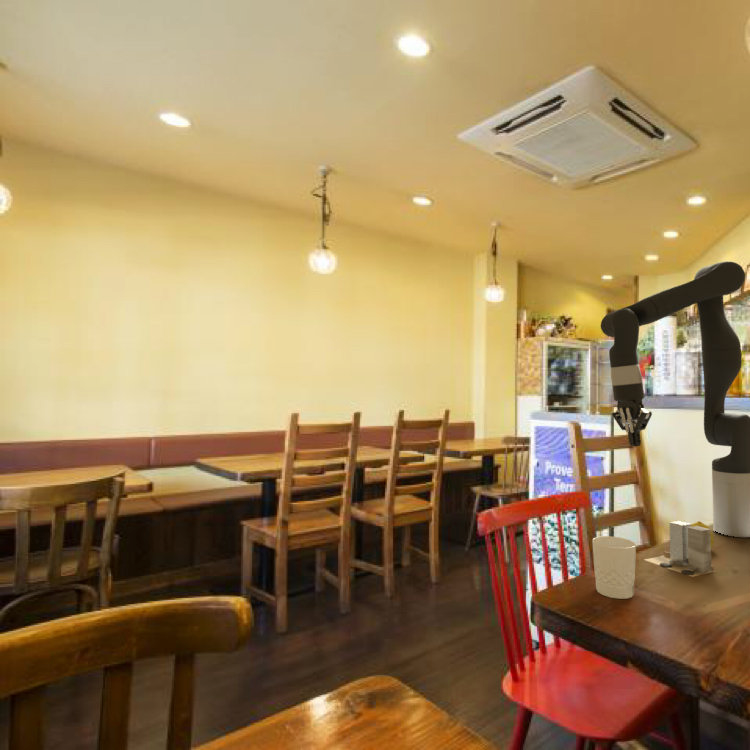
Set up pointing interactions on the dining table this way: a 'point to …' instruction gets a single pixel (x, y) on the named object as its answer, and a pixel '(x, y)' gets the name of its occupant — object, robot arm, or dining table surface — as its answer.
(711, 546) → the lemon
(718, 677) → the dining table surface
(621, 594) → the white cup
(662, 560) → the gauge board
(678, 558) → the block
